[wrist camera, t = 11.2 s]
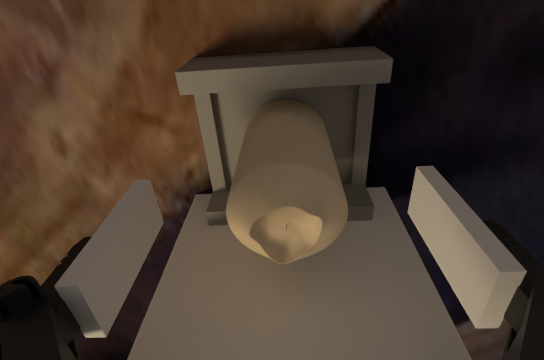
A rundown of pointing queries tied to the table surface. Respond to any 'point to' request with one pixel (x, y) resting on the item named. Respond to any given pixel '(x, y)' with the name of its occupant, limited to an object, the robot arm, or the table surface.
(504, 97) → the table surface
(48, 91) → the table surface
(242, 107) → the tablet stand
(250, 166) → the candle
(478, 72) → the table surface
